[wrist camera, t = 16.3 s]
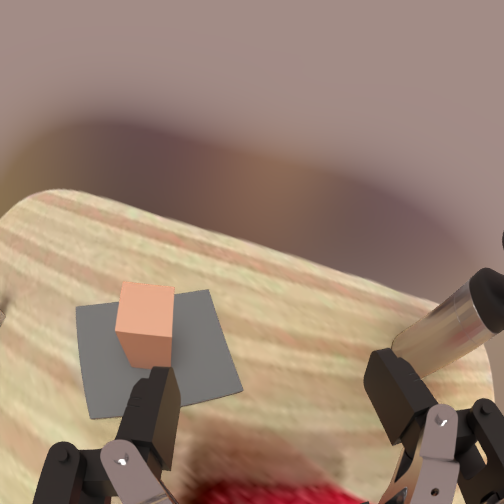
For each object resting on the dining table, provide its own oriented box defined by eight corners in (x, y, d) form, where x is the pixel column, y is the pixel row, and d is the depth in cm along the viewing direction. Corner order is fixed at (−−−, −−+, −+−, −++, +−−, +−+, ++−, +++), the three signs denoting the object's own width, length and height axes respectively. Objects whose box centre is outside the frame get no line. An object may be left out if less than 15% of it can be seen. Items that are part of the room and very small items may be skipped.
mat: (207, 292, 36) (208, 289, 36) (241, 391, 29) (243, 390, 28) (77, 309, 28) (75, 306, 28) (92, 419, 21) (90, 418, 20)
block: (171, 334, 30) (174, 285, 22) (170, 371, 27) (171, 337, 19) (134, 330, 29) (123, 280, 21) (131, 367, 26) (114, 330, 18)
